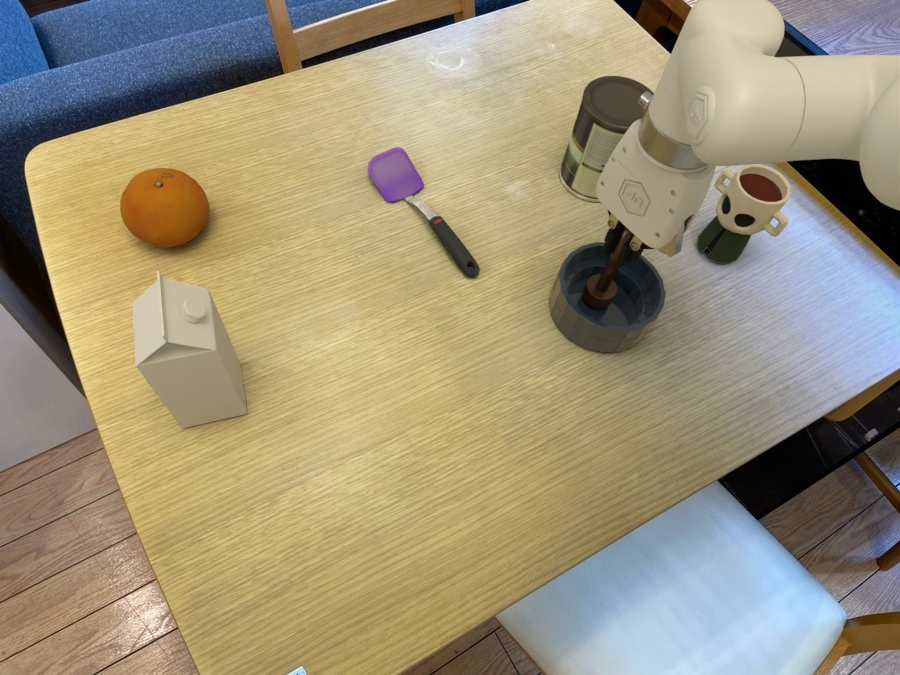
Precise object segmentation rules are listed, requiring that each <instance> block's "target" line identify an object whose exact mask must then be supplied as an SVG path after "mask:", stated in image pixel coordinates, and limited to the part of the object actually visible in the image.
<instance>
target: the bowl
mask: <svg viewBox="0 0 900 675" xmlns="http://www.w3.org/2000/svg"><path fill="white" fill-rule="evenodd" d="M605 242H606V241H604V242H601V241H597V242H592V243H591V242H590V243H587V244H583V245H581V246H579V247H577V248H576V249H574V250H572V251H570V252H569V254H568V255H567V257H565V259H564V260H562V261H563V262H562V263H561V265H560V269H559V270H558V272H557V276H556V278H555V281H554V283H553V286H552V289H551V292H550V296H549V306H550V314H551V316H552V318H553V320H554V323H555V325H556V326H557V327H558V329H560V331H561V332H562V333H563V334H564V335H565V336H566V337H567V339H569V340H570V341H572V342H574V343H575V344H577V345H579V346H580V347H583V348H586V349H589V350H592V351H596V352H599V353H618V352H623V351H625V350H628V349H631V348H632V347H634V346H635V345H637V344H638V343H640V341H642V340H643V338H645V336H646V334H647V332H648V331H649V330H650V328H651V327H652V326H653V324H654V323H655V321H657V319H658V316H659V315H660V313H661V312H662V310H663V309H664V307H665V300H666V296H667V295H666V288H665V284H664V281H663V278H662V276H661V275H660V273H659V271H658V270H657V268H656V266H655V265H654V264H652V263H651V261H650V260H648V258H646V257H645V256H644V255H643V254H641V255H640V257H639V259H638V260H637V261H636V262H634V263H633V264H631V265H629V264H628V263H627V264H625V265H623V266H622V267H620V268H619V269H618V271H617V273H616V275H615V277H614V279H613V280H614V281H615V283H616V285H617V293H616V295H615V297H614V299H613V301H612V303H611V304H610V305H609V306H607V307H604V308H596V307H593V306H591V305H589V304H588V303H587V302H586V301H585V299H584V297H583V289H584V287H585V285H586V283H587V280H588V279H589V278H590V277H591V276H593V275H595V274H601V273H602V271H603V269H604V267H605V265H606V263H607V261H608V259H609V257H610V255H611V253H612V252H611V253H609V254H608V255H604V254H603V253H602V252H601V250H602V248H603V246H604V244H605Z"/></svg>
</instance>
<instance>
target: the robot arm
mask: <svg viewBox="0 0 900 675" xmlns="http://www.w3.org/2000/svg"><path fill="white" fill-rule="evenodd" d="M785 29H786V28H785V21H784V17H783V15H782V13H781V11H779V9H778V8H777V7H776V6H775V5H774V4H773V3H772V2H770V1H769V0H697V1H696V2H695V3H694V4H693V6H692V7H691V9H690V11H689V13H688V14H687V16H686V18H685V21H684V23H683V25H682V28H681V30H680V33H679V34H678V37H677V40H676V41H675V44H674V46H673V49H672V51H671V53H670V55H669V57H668V60H667V62H666V65H665V67H664V69H663V72H662V74H661V76H660V79H659V81H658V83H657V85H656V88H655V91H654V92H653V93H654V94H653V95H652V94H651V93H649V92H648V91H646V92H644V93H643V94H642V95H641V96H640V98H639V100H638V103H639V104H640V105H641V106H643V107H642V108H643V109H644V113H643V116H642V118H641V119H639V120H636V121H635V122H633V124H632V125H631V126H630V127H629V129H628V130H627V131H626V133H625V134H624V136H623V137H622V139H621V140H620V142H619V143H618V145H617V146H616V148H615V149H614V151H613V153H612V154H611V156H610V158H609V160H608V162H607V164H606V165H605V167H604V169H603V171H602V173H601V176H600V178H599V180H598V183H597V186H596V196H597V198H598V199H599V201H600V202H599V203H601V205H602V206H603V207H604V208H606V211H607V213H608V219H607V221H606V222H607V223H606V224H607V227H608V230H607V232H606V235H605V236H604V239H603V241H604V242H605V244H604V246H603V248H602V250H601V252H602V253H603V254H604V255H608V254H609V253H611V252H612V251H613V249H614V247H615V245H616V243H617V241H618V239H619V237H620V235H621V233H622V231H623V229H624V227H625V226H626V227H627V228H628V229H629V230H630V231H631V232H632V233H633V234H634V237H633V238H632V239H631V240H630V241H629V242H627V243H625V244H624V246H623V248H622V250H621V252H620V254H619V255H618V257H617V259H616V261H615V266H616V267H617V268H620V267H622V266H623V265H625V264H627V263H628V264H629V265H631V264H633V263H634V262H636V261H637V260H638V259H639V257H640V255H643V254H642V253H643V252H644V250H658V252H660V253H662V254H664V255H666V256H668V257H670V258H672V257H674V256H676V255H677V254H678V253H680V252H681V251H682V248H683V240H684V234H685V233H686V232H687V231H688V230H689V228H690V227H691V225H692V223H693V222H694V220H695V218H696V217H697V215H698V213H699V211H700V209H701V207H702V205H703V203H704V200H705V199H706V196H707V194H708V192H709V189H710V187H711V184H712V181H713V178H714V175H715V171H716V169H717V167H737V166H745V165H750V164H762V165H764V164H770V163H783V162H797V161H813V160H827V159H828V160H832V159H834V160H835V159H836V160H840V159H841V160H849V161H856V162H858V163H859V168H860V173H861V177H862V180H863V182H864V185H865V187H866V188H867V190H868V191H869V192H870V193H871V194H872V195H873V196H874V197H875V198H876V200H877V201H879V202H880V203H881V204H883V205H885V206H887V207H889V208H892V209H894V210H897V211H900V54H828V55H826V54H824V55H822V54H821V55H799V56H796V55H795V56H776V55H777V53H778V51H779V49H780V47H781V45H782V42H783V40H784V36H785Z"/></svg>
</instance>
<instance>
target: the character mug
mask: <svg viewBox="0 0 900 675" xmlns="http://www.w3.org/2000/svg"><path fill="white" fill-rule="evenodd" d="M726 179H728V180H729V183H728V184H727V186H726V185H725V183H724V182H726ZM789 182H790V181H789V180H788V179H787V178H786V177H785V176H784V175H783V174H782V173H781V171H778V170H776V169H775V168H773V167H771V166H767V165H764V164H750V165H741V167H740V169H738V170H737V172H736V173H735V172H733V170H731V169H730V168H726V167H725V168H724V169H722V170H721V173H720V174H719V176H718V177H717V179H716V180H715V182H714V187H715V189H716V190H718V192H720V193H721V195H720V197H719V199H718V200H717V201H716V208H715V212H716V216H714V218H713V219H711V221H710V222H709V223H708V224H707V225H706V226H705V227H704V228H703V229H702V231H701V232H700V233H699V234H698V236H697V242H696V243H697V247H698V249H699V251H700V253H702V254H703V253H704V252H705V251H706V249H707V250H708V251H709V253H708V254H707V256H706V258H707V259H708V260H710V261H713V262H715V263H718V264H730V263H732V262H734V261H737V260H738V259H739V258H740V256H741V255H742V254H743V252H744V250H745V248H746V247H747V245H748V243H749V241H750V239H751V237H752V235H755V234H759V233H761V232H763V231H765V232H766V233H767V234H768V235H770V236H771V237H773V238H777V237H778V236H779V235H780V234H781V233H782V232H783V231H784V229H785V228H786V227H787V226H788V224H789V221H790V219H789V217H787V216H786V215H785V214H784V213H783V212H781V210H782V209H783V207H784V205H786V203H787V202H788V201H789V199H790V197H791V193H792V187H791V184H790V183H789ZM774 219H775V220H776V221H777V222H778V223H777V224H776V226H774V225H772V224H771V222H772V221H773V220H774Z"/></svg>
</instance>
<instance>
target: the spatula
mask: <svg viewBox="0 0 900 675" xmlns="http://www.w3.org/2000/svg"><path fill="white" fill-rule="evenodd" d="M367 173H368V176H369V177H370V178H371V180H372V182H373V183H374V184H375V186H376V189H378V191H379V193H380V194H381V195H382V196H383V198H384V200H385V201H386V202H388V203H395V202H398V201H402V200H403V201H405V202H406V203H409V204H411V205H413V206H414V207H415V208H416V209H418V210H419V211H420V212H421V213H422V214H423V215H424V216H425V218H426V219H427V221H428V225H429V227H430V228H431V229H432V231H433V233H434V234H435V236H436V237H437V238H438V240H439V242H440V243H441V244H442V245H443V247H444V248H445V250H446V251H447V253H448V254H449V256H450V258H452V260H453V262H454V263H455V265H456V266H457V267H458V268H459V269H460V270H461V271H462V273H463V274H464V275H465V276H467V277H470V278H476V277H478V275H479V274H480V271H481V268H480V265H479V264H478V263H477V260H476V259H475V257H474V256H473V255H472V253H470V251H469V249H468V248H467V247H466V245H465V244H464V243H463V241H462V240H461V239H460V237H459V236H458V235H457V234H456V233H455V231H454V230H453V228H452V227H451V226H450V225H449V224H448V223H447V222H446V220H445V219H444V218H443V217H442V216H441V215H438V214H437V213H436V211H435V210H433V208H432V207H431V206H430V205H429V204H427V203H426V202H424V201H423V200H421V199H419V198H418V197H415V196H414V195H415V194H417V193H419V192H420V191H422V190H423V189H424V187H425V184H424V181H423V180H422V177H421V175H420V174H419V172H418V170H417V169H416V167H415V165H414V163H413V162H412V160H411V158H410V157H409V155H408V153H407V151H406V150H405V149H404V148H402V147H399V146H397V147H396V146H395V147H391V148H389V149H387V150H385V151H383V152H382V151H381V152H380V153H378V154H376V155H374V156H372V157H371V159H370V160H369V161H368V164H367ZM469 267H470V268H469Z"/></svg>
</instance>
